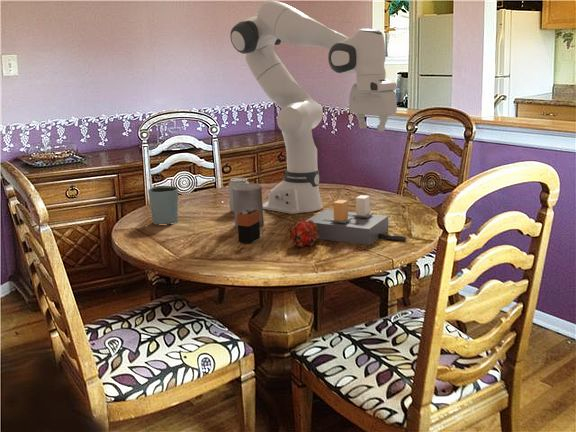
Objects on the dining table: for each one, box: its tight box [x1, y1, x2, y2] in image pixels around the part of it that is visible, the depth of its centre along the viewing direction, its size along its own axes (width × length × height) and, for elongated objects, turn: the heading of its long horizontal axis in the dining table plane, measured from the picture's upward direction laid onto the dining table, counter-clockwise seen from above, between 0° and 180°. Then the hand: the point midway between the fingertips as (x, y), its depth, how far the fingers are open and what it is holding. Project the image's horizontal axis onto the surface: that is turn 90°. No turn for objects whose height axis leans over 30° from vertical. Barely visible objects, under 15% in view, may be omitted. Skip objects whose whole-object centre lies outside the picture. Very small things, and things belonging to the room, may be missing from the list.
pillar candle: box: [233, 181, 265, 229], centre depth 214 cm, size 10×10×15 cm
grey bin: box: [147, 185, 179, 225], centre depth 223 cm, size 10×10×12 cm
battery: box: [237, 207, 261, 245], centre depth 199 cm, size 4×7×10 cm, turn 153°
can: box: [228, 177, 250, 213], centre depth 235 cm, size 8×8×12 cm
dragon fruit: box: [289, 218, 320, 249], centre depth 193 cm, size 8×8×12 cm
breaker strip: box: [305, 209, 407, 246], centre depth 201 cm, size 31×16×5 cm, turn 61°
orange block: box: [330, 199, 352, 223], centre depth 198 cm, size 5×5×6 cm
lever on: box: [353, 194, 374, 218], centre depth 203 cm, size 5×5×6 cm
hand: (371, 129), depth 198 cm, fingers open, 8 cm apart
